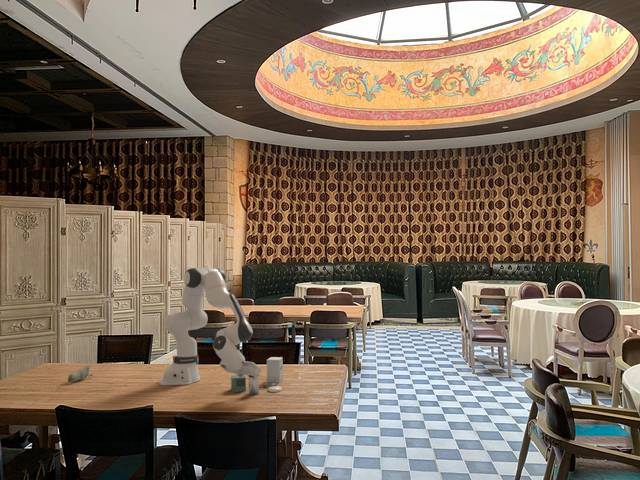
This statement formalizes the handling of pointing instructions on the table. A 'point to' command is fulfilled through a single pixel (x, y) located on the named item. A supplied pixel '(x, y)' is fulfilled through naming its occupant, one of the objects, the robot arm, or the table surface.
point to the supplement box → (275, 369)
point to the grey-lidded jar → (253, 385)
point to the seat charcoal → (270, 384)
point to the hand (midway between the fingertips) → (248, 376)
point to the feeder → (238, 383)
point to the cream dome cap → (275, 389)
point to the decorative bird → (79, 374)
